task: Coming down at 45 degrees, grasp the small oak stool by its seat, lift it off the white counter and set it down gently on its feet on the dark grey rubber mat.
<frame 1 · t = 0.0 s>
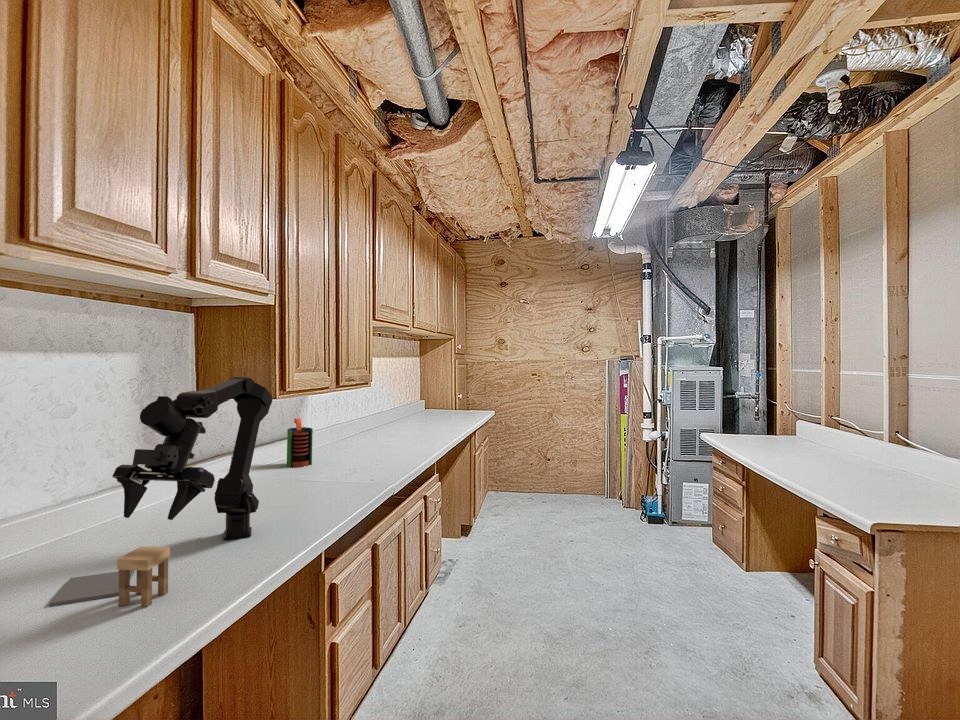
hand: (147, 518, 95), 15 cm above the counter, tool tilted 35°, fingers open, 9 cm apart
mat: (95, 587, 97), on the counter
stool: (144, 598, 93), on the counter
motor: (298, 465, 206), on the counter
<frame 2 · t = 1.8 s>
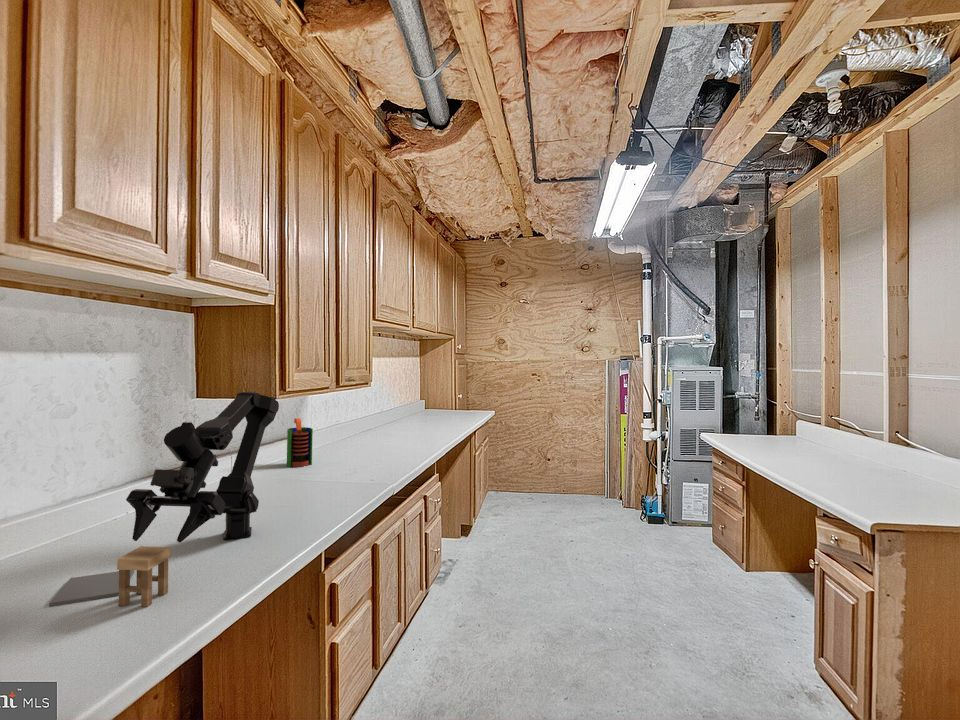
hand: (156, 540, 96), 10 cm above the counter, tool tilted 45°, fingers open, 9 cm apart
nothing on the counter moved.
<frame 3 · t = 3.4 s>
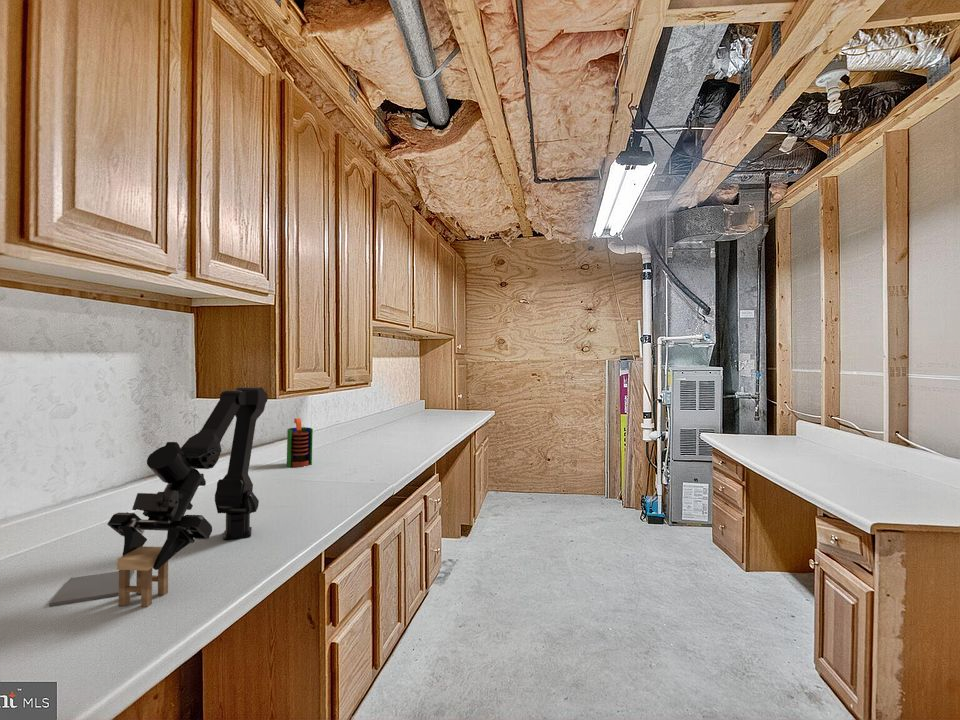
hand: (138, 568, 92), 7 cm above the counter, tool tilted 45°, fingers closed on stool, 6 cm apart
stool: (143, 598, 93), on the counter, touching gripper
everything else where it was.
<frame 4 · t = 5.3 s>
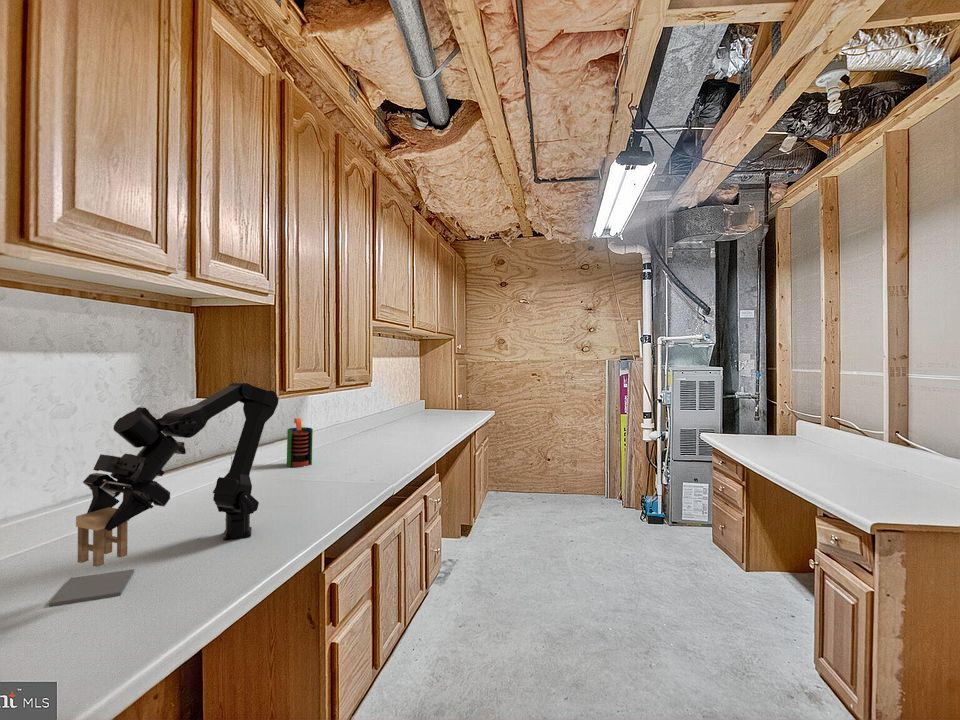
hand: (95, 527, 93), 14 cm above the counter, tool tilted 45°, fingers closed on stool, 6 cm apart
stool: (102, 558, 95), point 7 cm above the counter, touching gripper
everything else where it was.
when the fingers open (8 cm above the counter, at t = 7.3 s): stool stays where it is, resting on mat.
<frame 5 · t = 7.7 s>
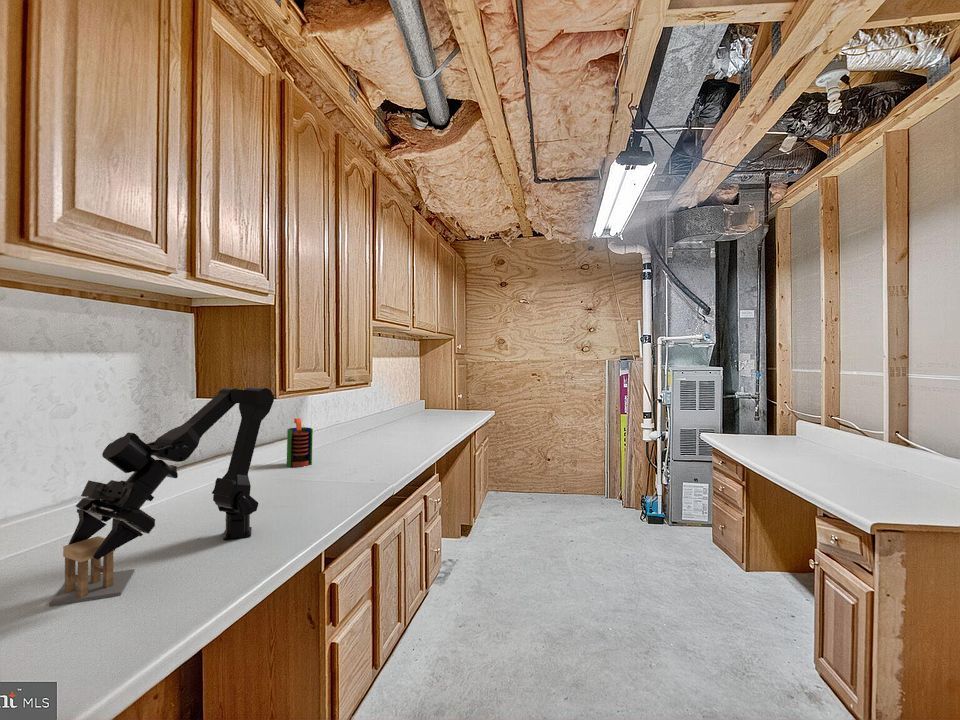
hand: (81, 554, 94), 8 cm above the counter, tool tilted 45°, fingers open, 9 cm apart
stool: (89, 588, 95), point 1 cm above the counter, touching mat
everything else where it was.
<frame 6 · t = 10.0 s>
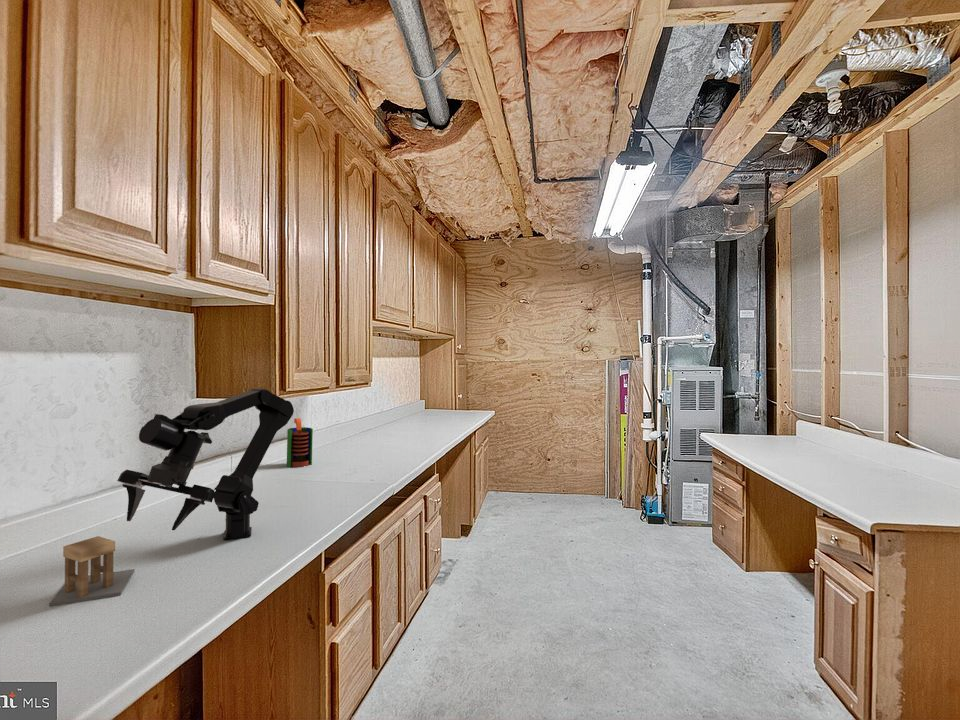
hand: (150, 525, 105), 10 cm above the counter, tool tilted 25°, fingers open, 9 cm apart
nothing on the counter moved.
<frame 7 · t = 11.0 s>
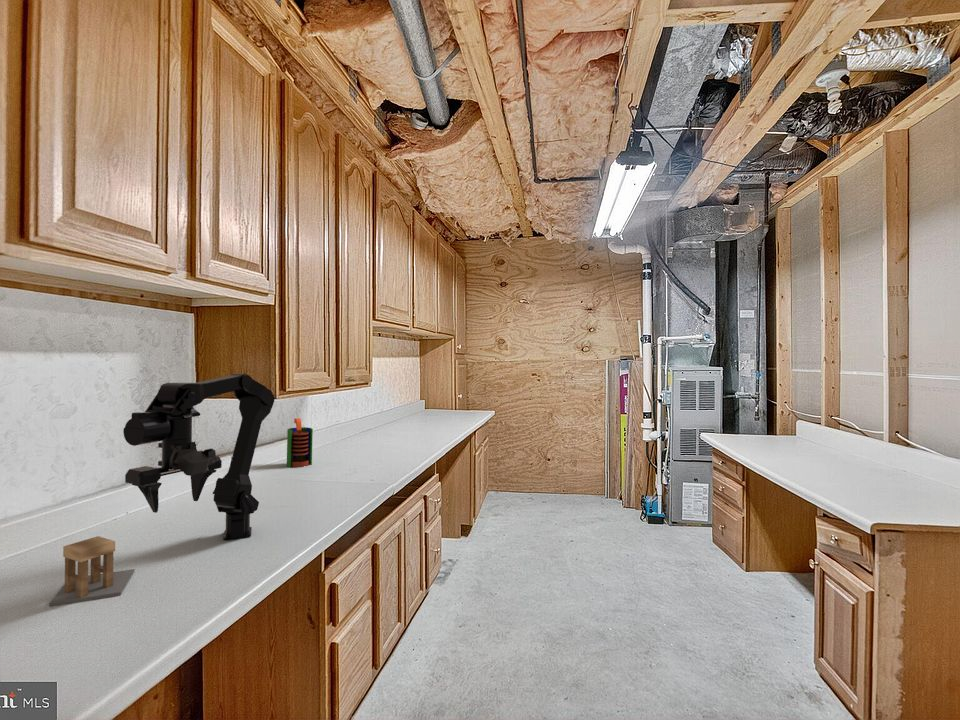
hand: (176, 506, 109), 13 cm above the counter, tool pointing down, fingers open, 9 cm apart
nothing on the counter moved.
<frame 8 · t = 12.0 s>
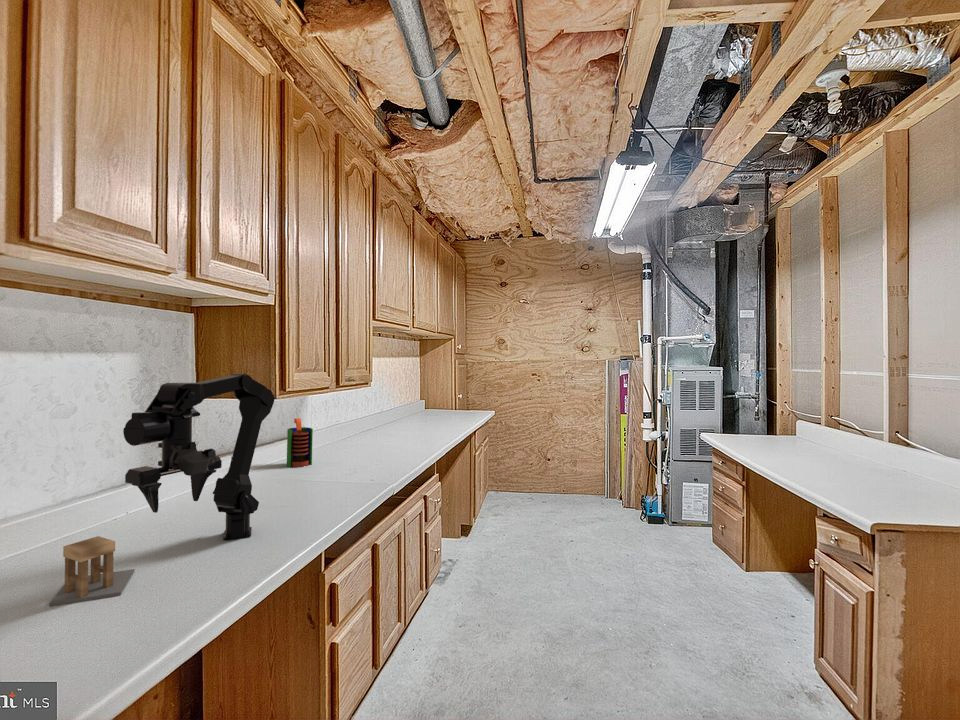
hand: (176, 506, 109), 13 cm above the counter, tool pointing down, fingers open, 9 cm apart
nothing on the counter moved.
at the end: stool inside the target area on the mat (1.6 cm from its centre), point 0.6 cm above the mat's base; stool tilted 0°; the gripper is holding nothing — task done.
